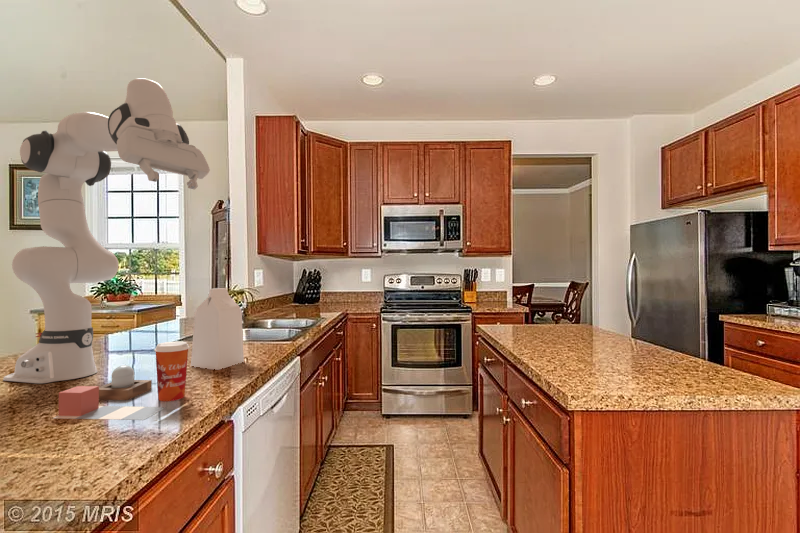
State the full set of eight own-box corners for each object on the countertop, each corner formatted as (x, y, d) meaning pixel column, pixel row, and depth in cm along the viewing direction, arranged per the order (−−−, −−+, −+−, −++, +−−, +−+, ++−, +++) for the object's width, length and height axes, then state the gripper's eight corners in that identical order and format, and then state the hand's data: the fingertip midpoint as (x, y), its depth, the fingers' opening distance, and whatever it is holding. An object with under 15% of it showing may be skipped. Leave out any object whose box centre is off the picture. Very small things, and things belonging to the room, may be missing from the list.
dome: (106, 393, 102) (107, 367, 102) (120, 387, 106) (120, 363, 106) (125, 393, 101) (125, 367, 101) (138, 388, 106) (138, 363, 106)
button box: (91, 401, 100) (91, 389, 100) (118, 391, 109) (118, 379, 109) (127, 402, 99) (127, 390, 99) (151, 391, 108) (151, 380, 108)
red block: (58, 415, 88) (58, 392, 89) (77, 407, 93) (77, 386, 94) (80, 416, 88) (81, 392, 88) (98, 408, 93) (98, 386, 93)
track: (52, 420, 87) (52, 418, 87) (82, 408, 95) (82, 405, 95) (143, 422, 86) (143, 419, 86) (166, 409, 94) (166, 407, 94)
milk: (217, 359, 147) (218, 287, 147) (243, 362, 143) (244, 288, 144) (190, 366, 136) (191, 288, 136) (217, 369, 132) (218, 289, 132)
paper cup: (152, 406, 96) (153, 347, 96) (154, 397, 103) (155, 342, 103) (189, 402, 100) (190, 344, 100) (189, 393, 107) (190, 340, 107)
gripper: (192, 154, 110) (206, 198, 106) (108, 131, 92) (121, 182, 89) (206, 141, 107) (221, 185, 104) (121, 114, 89) (136, 166, 86)
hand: (174, 184), depth 96 cm, fingers open, 8 cm apart
